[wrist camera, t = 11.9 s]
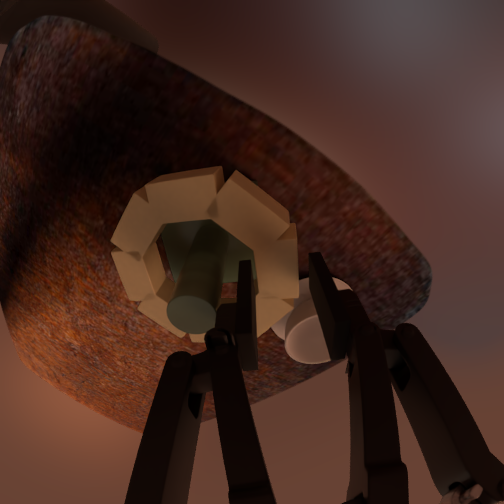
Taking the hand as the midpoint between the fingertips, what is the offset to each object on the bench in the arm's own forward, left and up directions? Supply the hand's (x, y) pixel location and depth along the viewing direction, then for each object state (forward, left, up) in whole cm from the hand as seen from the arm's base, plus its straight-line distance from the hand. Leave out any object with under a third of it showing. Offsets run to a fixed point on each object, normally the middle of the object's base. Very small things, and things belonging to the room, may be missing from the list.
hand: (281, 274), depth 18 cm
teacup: (+11, +4, -8) cm, 14 cm away
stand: (0, -5, -8) cm, 10 cm away
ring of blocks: (0, -5, -3) cm, 6 cm away
